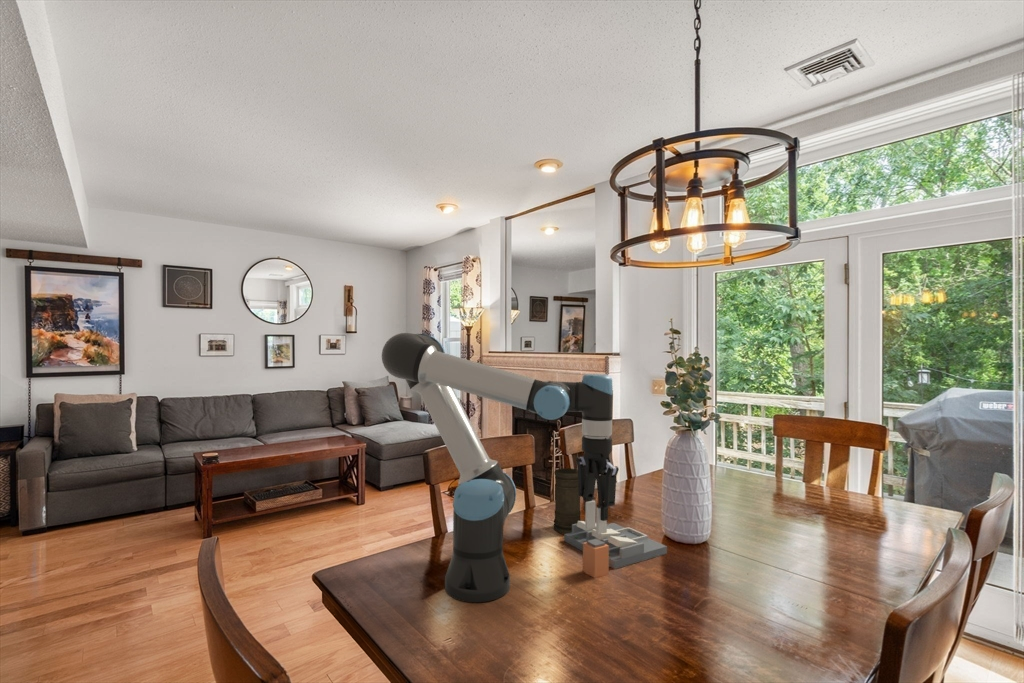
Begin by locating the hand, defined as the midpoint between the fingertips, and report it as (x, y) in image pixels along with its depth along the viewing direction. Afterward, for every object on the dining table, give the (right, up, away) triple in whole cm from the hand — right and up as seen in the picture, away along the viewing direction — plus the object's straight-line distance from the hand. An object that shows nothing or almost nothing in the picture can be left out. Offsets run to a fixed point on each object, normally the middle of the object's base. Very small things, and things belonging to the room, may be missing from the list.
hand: (595, 529), depth 123 cm
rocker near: (+9, -7, +8) cm, 14 cm away
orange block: (0, -11, 0) cm, 11 cm away
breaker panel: (+8, -11, +16) cm, 21 cm away
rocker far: (+2, -7, +20) cm, 21 cm away
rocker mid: (+5, -7, +14) cm, 16 cm away
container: (-4, -11, +29) cm, 31 cm away
